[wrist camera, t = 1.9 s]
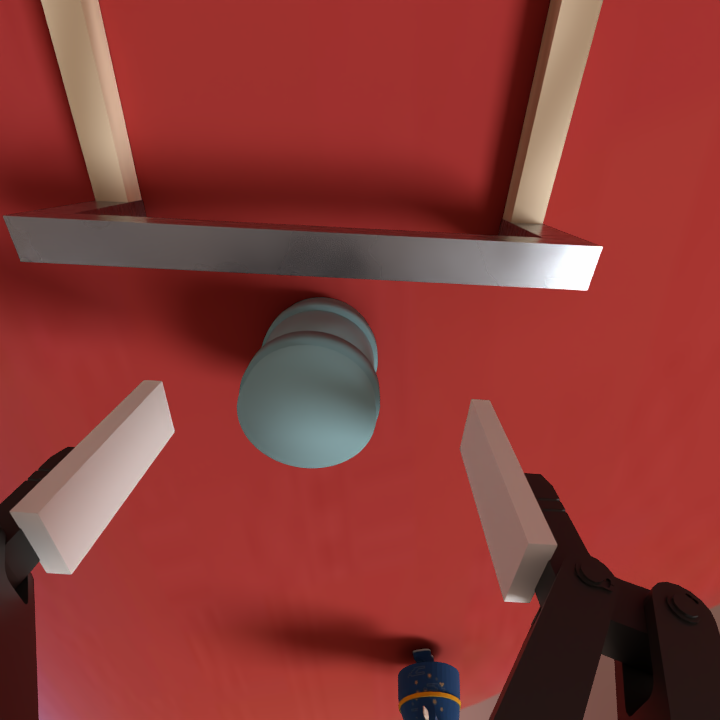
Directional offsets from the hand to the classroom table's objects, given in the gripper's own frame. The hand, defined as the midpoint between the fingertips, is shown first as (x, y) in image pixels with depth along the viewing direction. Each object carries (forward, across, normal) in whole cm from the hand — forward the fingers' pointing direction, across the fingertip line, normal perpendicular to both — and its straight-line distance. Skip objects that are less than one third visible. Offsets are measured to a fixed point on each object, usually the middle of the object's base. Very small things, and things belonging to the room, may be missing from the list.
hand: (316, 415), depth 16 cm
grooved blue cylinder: (+7, -1, 0) cm, 7 cm away
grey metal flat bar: (+7, -1, +7) cm, 10 cm away
